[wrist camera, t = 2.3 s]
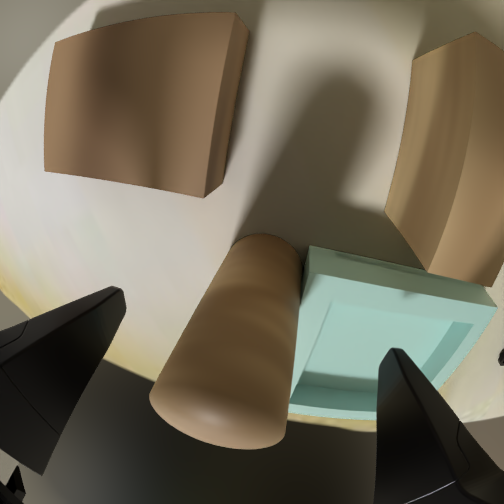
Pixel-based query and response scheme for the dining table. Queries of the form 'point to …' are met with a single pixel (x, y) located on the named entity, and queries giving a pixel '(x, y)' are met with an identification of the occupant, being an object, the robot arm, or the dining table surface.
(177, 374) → the oak dowel
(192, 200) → the dining table surface
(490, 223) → the block
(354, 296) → the tray
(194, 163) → the walnut board
